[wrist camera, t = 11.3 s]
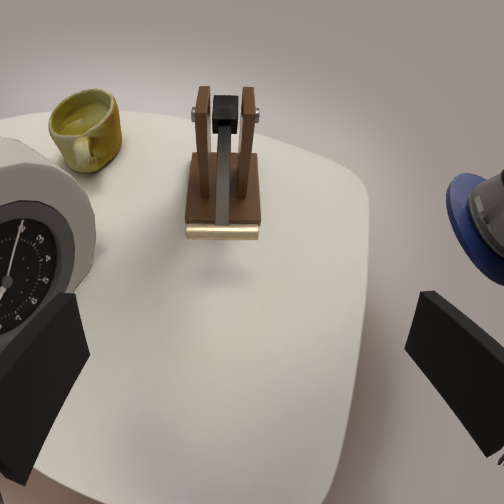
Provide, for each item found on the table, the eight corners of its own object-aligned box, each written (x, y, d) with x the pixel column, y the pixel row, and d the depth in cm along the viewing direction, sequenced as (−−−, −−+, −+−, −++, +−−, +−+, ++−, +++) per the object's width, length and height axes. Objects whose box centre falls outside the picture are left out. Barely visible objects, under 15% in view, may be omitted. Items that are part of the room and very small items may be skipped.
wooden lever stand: (260, 226, 33) (277, 136, 22) (185, 225, 33) (171, 135, 21) (256, 159, 38) (268, 74, 27) (193, 158, 37) (186, 72, 26)
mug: (61, 126, 37) (57, 80, 28) (123, 128, 41) (130, 81, 33) (45, 197, 34) (32, 156, 25) (116, 198, 38) (119, 156, 29)
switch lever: (256, 243, 25) (259, 235, 22) (187, 242, 24) (184, 235, 22) (254, 111, 27) (256, 96, 25) (196, 110, 27) (195, 95, 24)
